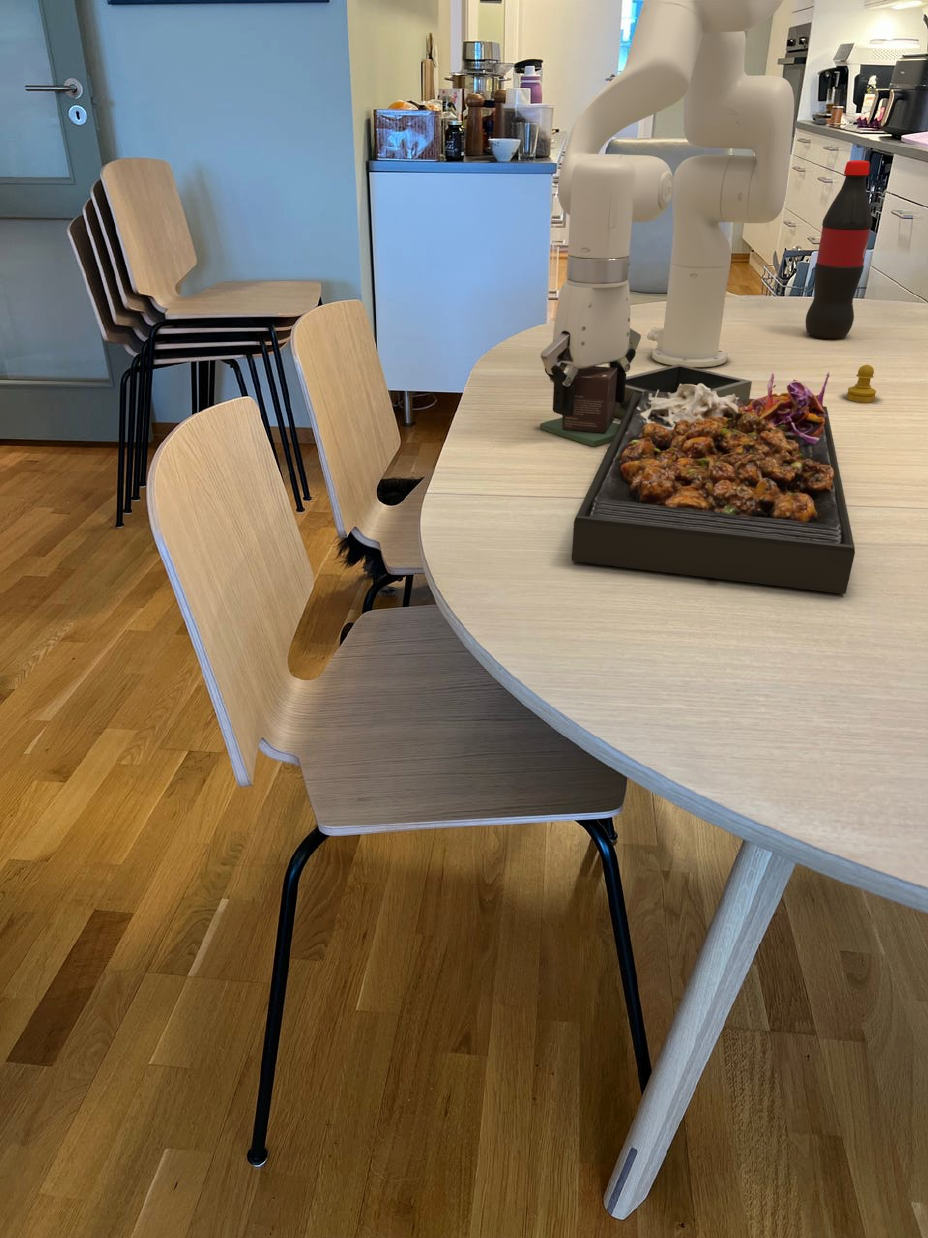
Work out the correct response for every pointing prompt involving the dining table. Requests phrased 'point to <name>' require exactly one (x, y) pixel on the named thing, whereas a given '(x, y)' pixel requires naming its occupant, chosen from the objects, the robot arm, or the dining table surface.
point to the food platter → (721, 490)
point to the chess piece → (862, 386)
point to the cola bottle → (841, 256)
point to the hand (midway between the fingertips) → (588, 407)
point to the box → (593, 400)
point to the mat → (580, 433)
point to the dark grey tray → (677, 375)
